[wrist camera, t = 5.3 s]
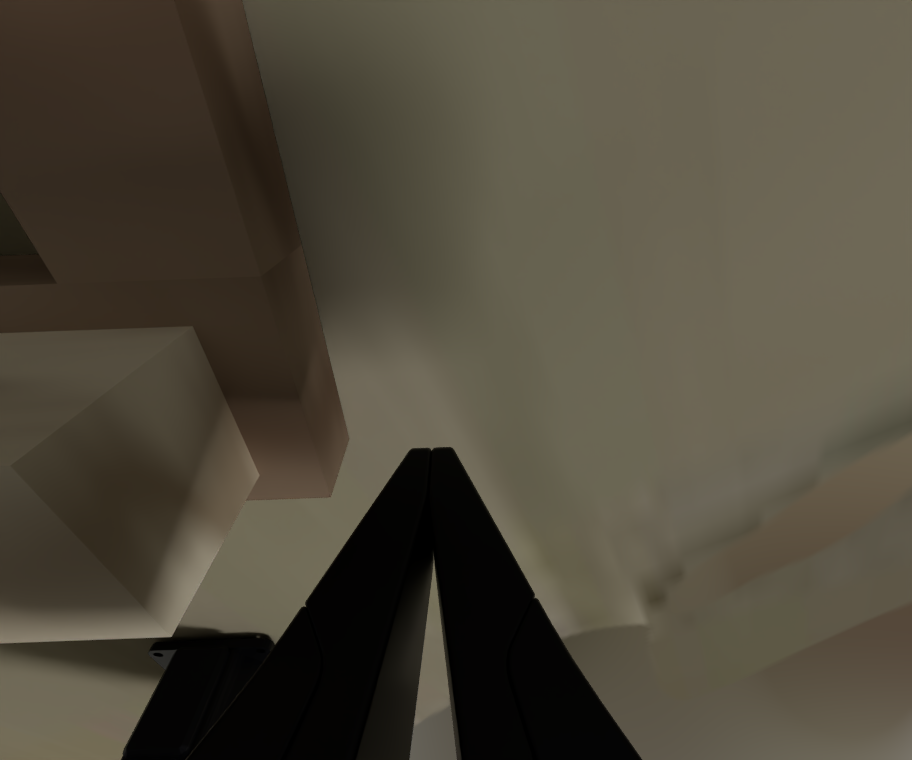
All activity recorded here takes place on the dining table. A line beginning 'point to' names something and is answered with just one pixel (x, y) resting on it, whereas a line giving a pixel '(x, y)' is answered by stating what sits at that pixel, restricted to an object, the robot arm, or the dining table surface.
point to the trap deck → (166, 210)
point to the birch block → (111, 481)
